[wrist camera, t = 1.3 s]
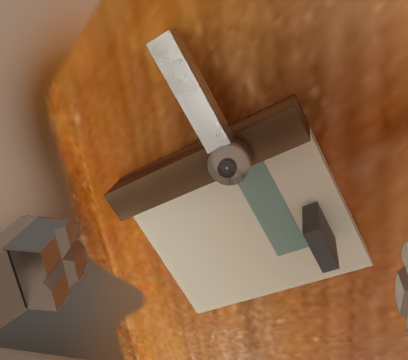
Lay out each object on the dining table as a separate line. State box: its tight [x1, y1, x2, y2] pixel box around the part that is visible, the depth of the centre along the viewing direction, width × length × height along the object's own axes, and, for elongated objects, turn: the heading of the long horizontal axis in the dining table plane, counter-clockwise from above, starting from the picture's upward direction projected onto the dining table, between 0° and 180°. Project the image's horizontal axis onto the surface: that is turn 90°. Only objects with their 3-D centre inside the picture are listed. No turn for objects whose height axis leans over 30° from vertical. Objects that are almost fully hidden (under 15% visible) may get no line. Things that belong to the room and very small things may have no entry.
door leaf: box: [133, 128, 373, 314], centre depth 36 cm, size 14×19×6 cm
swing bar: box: [146, 28, 252, 185], centre depth 29 cm, size 12×3×3 cm, turn 30°
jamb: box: [104, 94, 311, 221], centre depth 34 cm, size 3×19×4 cm, turn 120°
